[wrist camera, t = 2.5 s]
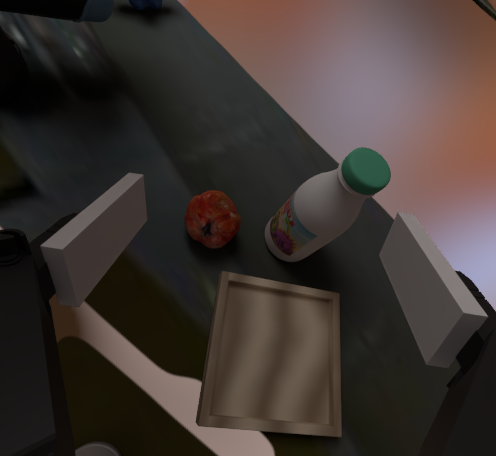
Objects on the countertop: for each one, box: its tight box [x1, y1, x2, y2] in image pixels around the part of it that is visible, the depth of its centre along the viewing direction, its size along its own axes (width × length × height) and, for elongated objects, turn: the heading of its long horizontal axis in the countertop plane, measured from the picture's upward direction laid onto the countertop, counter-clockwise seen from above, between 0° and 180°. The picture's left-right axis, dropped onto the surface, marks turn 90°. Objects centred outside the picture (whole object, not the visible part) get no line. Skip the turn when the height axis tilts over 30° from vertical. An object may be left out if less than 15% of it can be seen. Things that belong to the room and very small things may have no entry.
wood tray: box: [196, 271, 342, 437], centre depth 38 cm, size 17×17×2 cm
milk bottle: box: [265, 148, 391, 262], centre depth 37 cm, size 8×8×20 cm
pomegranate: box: [185, 191, 241, 248], centre depth 40 cm, size 7×7×10 cm
